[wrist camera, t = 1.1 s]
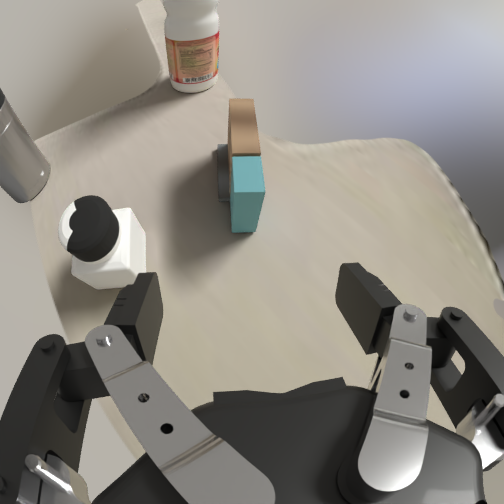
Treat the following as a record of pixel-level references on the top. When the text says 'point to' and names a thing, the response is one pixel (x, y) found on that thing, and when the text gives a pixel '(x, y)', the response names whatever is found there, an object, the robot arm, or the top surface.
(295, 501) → the robot arm
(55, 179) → the top surface
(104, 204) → the medicine bottle
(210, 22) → the fruit juice
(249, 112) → the brown block
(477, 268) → the top surface
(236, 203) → the teal block
